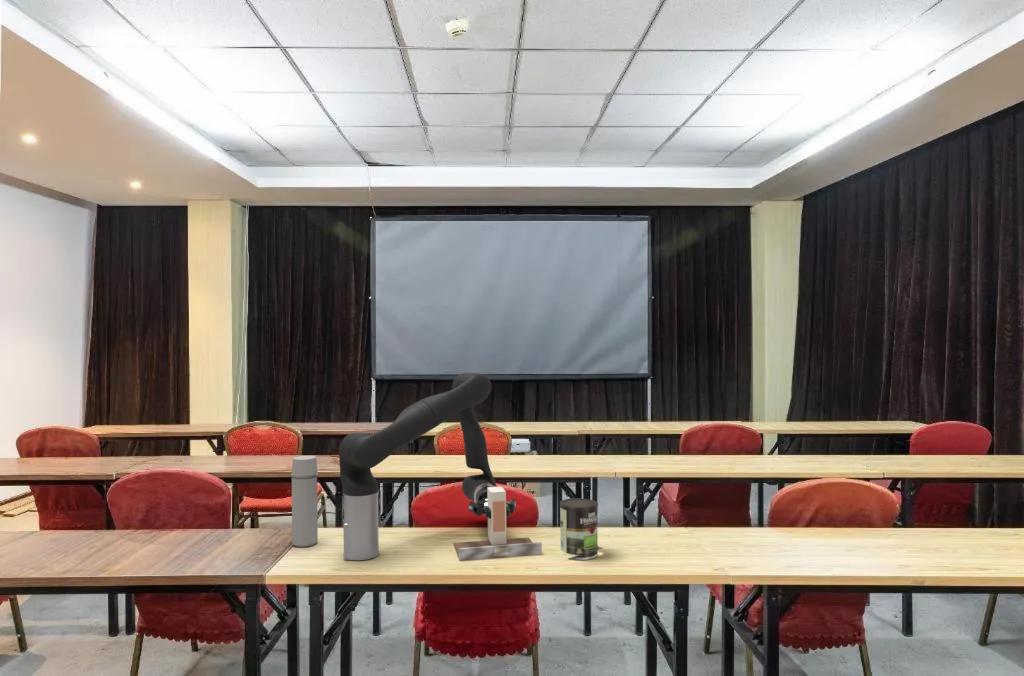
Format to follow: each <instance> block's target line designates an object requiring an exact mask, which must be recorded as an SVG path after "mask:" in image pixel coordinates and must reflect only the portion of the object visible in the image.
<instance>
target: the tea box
mask: <svg viewBox="0 0 1024 676" xmlns="http://www.w3.org/2000/svg"><path fill="white" fill-rule="evenodd" d="M487 499H488V507H489V508H490V510H491V519H489V518H488V517H487V539H488V540H489V541H490V542H491V544H492V545H497V544H507V539H508V538H507V517H506V501H507V491H506V490H505V488H504V487H502V486H496V487H487Z"/></svg>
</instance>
